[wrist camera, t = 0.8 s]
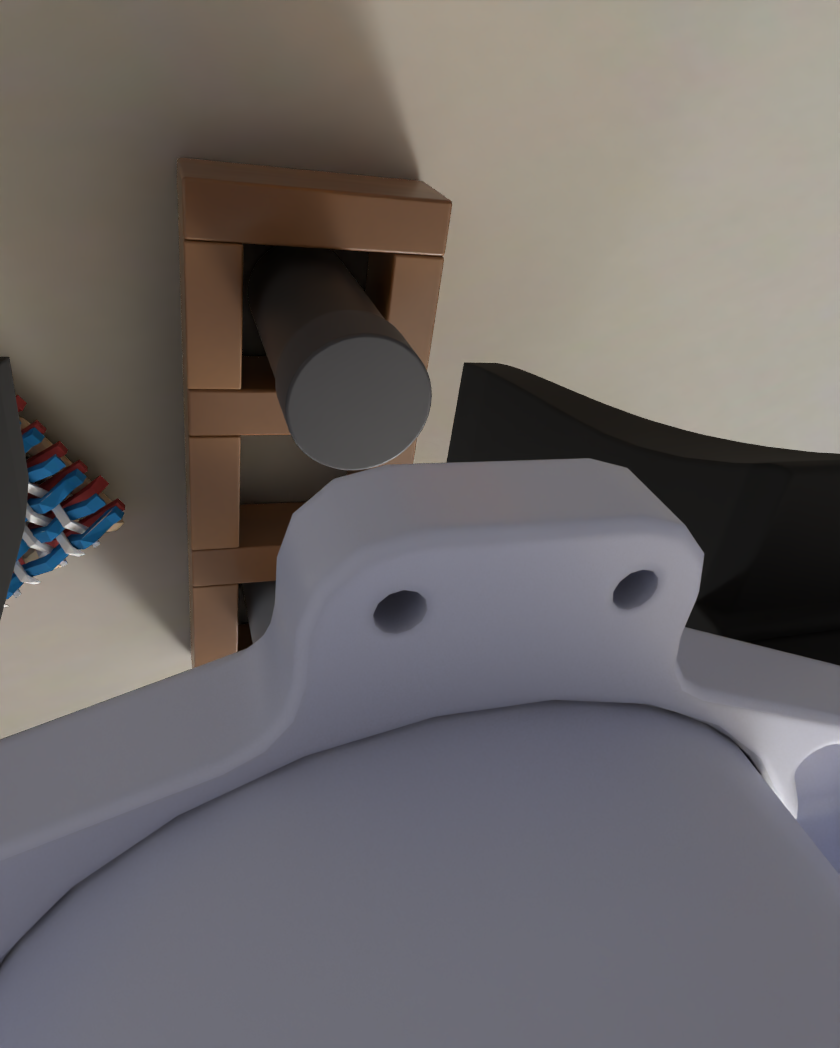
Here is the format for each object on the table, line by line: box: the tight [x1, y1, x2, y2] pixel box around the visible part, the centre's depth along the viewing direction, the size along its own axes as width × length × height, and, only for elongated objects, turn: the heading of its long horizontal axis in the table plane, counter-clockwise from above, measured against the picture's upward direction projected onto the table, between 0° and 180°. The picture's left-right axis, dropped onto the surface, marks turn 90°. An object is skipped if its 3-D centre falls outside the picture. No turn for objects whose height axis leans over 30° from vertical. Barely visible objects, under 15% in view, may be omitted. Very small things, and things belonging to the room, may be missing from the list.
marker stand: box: [176, 158, 452, 669], centre depth 24 cm, size 17×7×2 cm, turn 171°
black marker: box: [247, 246, 432, 470], centre depth 19 cm, size 3×3×8 cm
